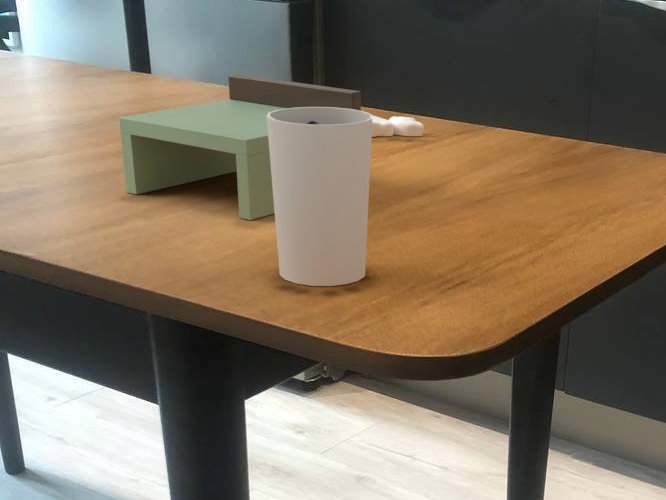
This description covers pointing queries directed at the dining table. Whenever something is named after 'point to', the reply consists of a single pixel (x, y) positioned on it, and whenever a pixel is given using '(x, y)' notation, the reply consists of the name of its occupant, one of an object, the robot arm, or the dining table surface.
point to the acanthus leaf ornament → (396, 126)
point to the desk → (219, 139)
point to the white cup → (320, 192)
